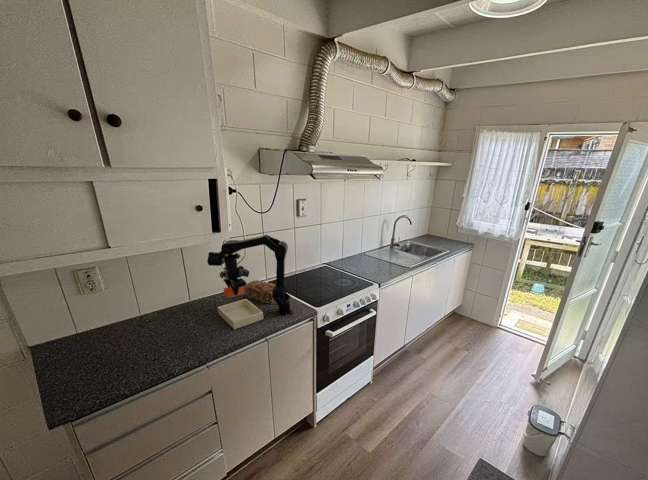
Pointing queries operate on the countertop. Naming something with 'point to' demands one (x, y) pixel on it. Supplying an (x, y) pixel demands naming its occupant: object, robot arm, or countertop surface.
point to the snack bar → (229, 292)
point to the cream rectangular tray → (240, 313)
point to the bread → (260, 291)
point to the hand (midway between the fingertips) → (234, 293)
